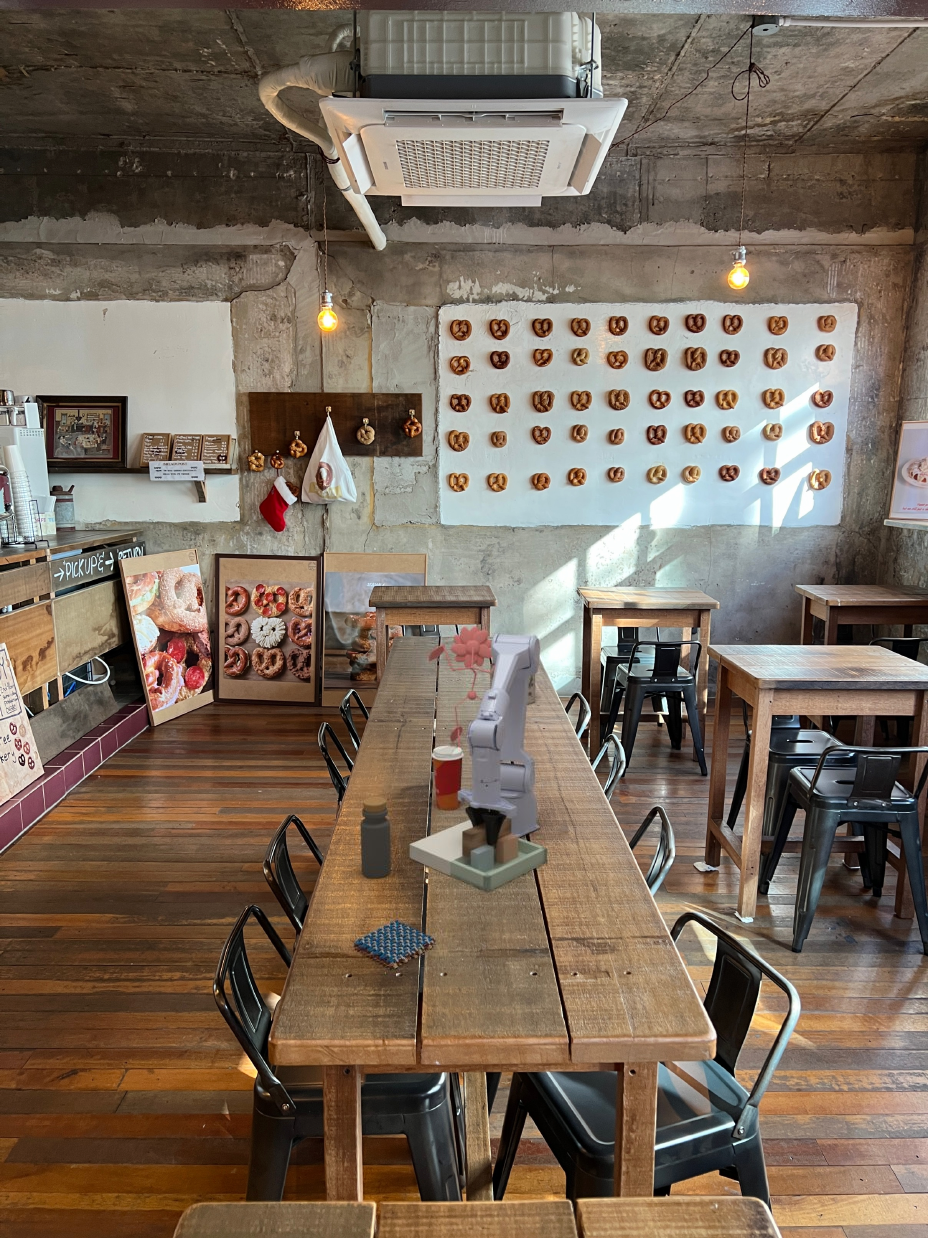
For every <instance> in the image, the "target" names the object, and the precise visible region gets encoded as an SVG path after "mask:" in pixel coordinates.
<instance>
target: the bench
mask: <svg viewBox="0 0 928 1238" xmlns="http://www.w3.org/2000/svg"><path fill="white" fill-rule="evenodd" d="M472 827H473V826H472V823H471V821H470V819H468V820H466V821H463V822H461V823H459V824H456V825H453V826H451V827H449V828H446V829H444V830H442V831H439V832H436V833H433V834H432V835H429V836H426V837H424V838H422V839H420V840H419V839H418V840H417V841H414V842H412V843H409V859H411V860H413V861H416V862H418V863H421V864H423V865H425V866H427V867H429V868H432V869H434V870H436V871H439V872H441V873H443V874H445V875H448V876H450V861H453V860H455V861H457V862H460V863H462V864H465V865H469V864H471V859H470V858H468V857H465V856H463V855H462V831H465V830H467V829H470V828H472ZM495 852H496V849H494V853H495Z"/></svg>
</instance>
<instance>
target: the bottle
mask: <svg viewBox="0 0 928 1238" xmlns="http://www.w3.org/2000/svg"><path fill="white" fill-rule="evenodd" d="M362 805H363V808H362V810H361V815H362V816H363V819H362V820H361V821H360V857H361V874H362V876H364V877H365V878H368V879H380V878H385V877H387V876H389V875H390V874H391V872H392V859H391V858H392V855H391V853H392V852H391V821H390V820H389V818H387V817H386V816H387V815H388V814H389V813H388V812H389V810H388V807H386V806H387V799H386V798H385V797H381V796H370V797H367V798H364V799H363V801H362Z"/></svg>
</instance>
